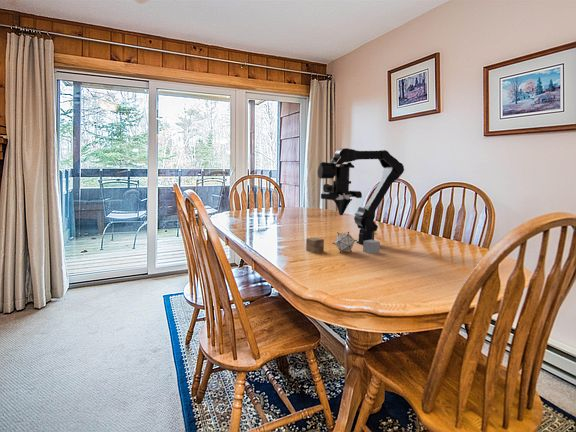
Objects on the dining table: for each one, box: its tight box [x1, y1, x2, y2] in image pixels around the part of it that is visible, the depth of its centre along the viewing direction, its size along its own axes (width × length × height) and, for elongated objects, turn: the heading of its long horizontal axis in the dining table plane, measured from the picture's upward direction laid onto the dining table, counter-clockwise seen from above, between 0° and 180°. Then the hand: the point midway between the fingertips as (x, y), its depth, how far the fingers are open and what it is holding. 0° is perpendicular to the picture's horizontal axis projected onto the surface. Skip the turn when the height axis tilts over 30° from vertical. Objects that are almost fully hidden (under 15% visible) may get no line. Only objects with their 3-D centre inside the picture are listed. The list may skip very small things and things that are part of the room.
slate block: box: [362, 239, 381, 255], centre depth 141 cm, size 4×4×4 cm
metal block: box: [305, 236, 325, 254], centre depth 142 cm, size 5×5×5 cm
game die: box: [332, 231, 358, 254], centre depth 141 cm, size 9×8×10 cm
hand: (341, 215), depth 152 cm, fingers closed
